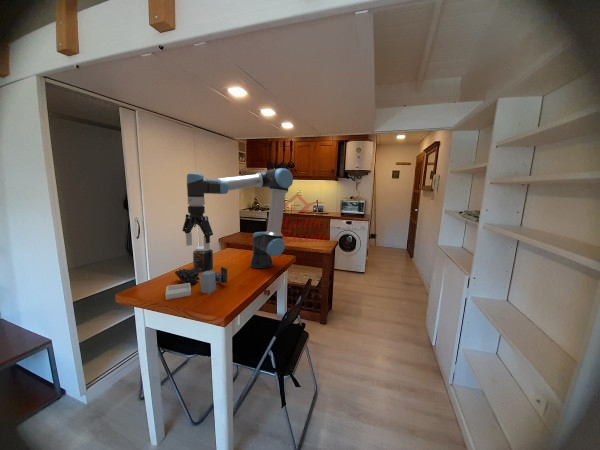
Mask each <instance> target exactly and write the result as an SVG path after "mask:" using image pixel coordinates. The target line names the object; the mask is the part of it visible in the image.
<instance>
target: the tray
mask: <svg viewBox="0 0 600 450" xmlns="http://www.w3.org/2000/svg"><path fill="white" fill-rule="evenodd" d="M191 287H192V286H191V284H190V283H181V284H173V285H172V284H171V285H167V286H166V287H165V288H166V289H165V295H164V296H165V301H167V300H174V299H179V298H185V297H191V296H192V289H191Z"/></svg>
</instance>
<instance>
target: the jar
mask: <svg viewBox="0 0 600 450" xmlns="http://www.w3.org/2000/svg"><path fill="white" fill-rule="evenodd" d="M213 251H214V250H213V249H212V248H210V249H207V250H204V245H200V246H196V247H195V250H194V251H193V253H192V260H193V261H192V263H193V268H192V269H195V272H199V273H203V272H205V271H212V270H213V269H214V252H213Z"/></svg>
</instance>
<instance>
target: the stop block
mask: <svg viewBox="0 0 600 450" xmlns="http://www.w3.org/2000/svg"><path fill="white" fill-rule="evenodd" d="M215 273H216V271H212V270H209V271H205V272H200V273H199V274H200V275H199V280H200V293H203V294H211V293H212V292H214V291H216V286H217V285H216V284H215Z"/></svg>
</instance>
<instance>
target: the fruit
mask: <svg viewBox="0 0 600 450" xmlns="http://www.w3.org/2000/svg"><path fill="white" fill-rule="evenodd" d="M174 274H175V275H176V277H177V278H178V279H180V281H182V282H183V283H182V284H185V283H190V285H192V284H193V285H194V284H197V283H198V282H199V280H200V275H199V274H200V272H195V269H194V268H192V269H186V268H183V269H179V270H176V271H175V272H174Z"/></svg>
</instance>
